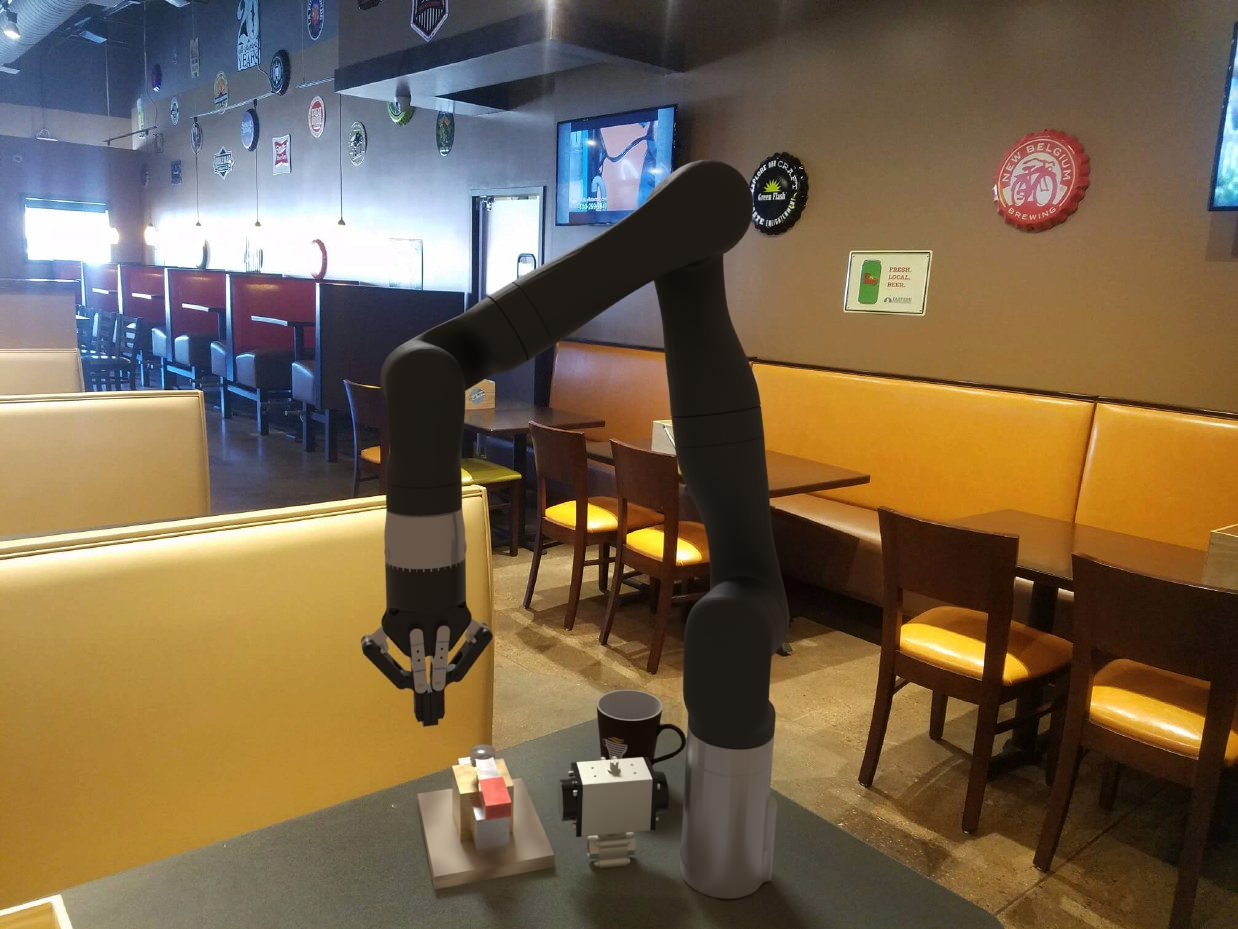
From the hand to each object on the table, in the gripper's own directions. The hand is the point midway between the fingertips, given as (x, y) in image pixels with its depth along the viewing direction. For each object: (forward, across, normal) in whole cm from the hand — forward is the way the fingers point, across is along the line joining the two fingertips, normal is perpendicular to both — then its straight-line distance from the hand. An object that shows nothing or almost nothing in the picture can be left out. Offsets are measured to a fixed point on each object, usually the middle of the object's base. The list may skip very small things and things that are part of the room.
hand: (429, 722), depth 86 cm
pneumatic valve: (+20, -20, -2) cm, 29 cm away
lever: (+11, -7, -5) cm, 14 cm away
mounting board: (+20, -7, -10) cm, 23 cm away
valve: (+18, -7, -10) cm, 22 cm away
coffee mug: (+20, -28, -15) cm, 38 cm away
